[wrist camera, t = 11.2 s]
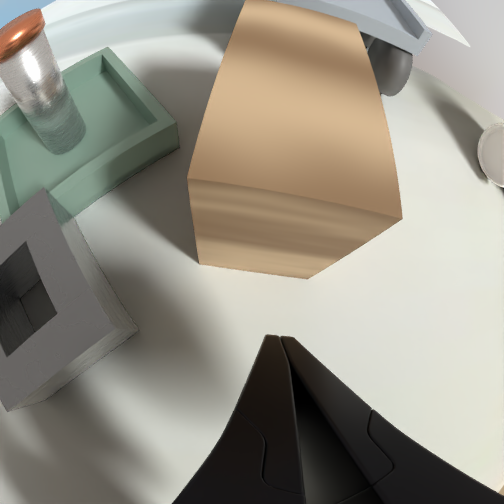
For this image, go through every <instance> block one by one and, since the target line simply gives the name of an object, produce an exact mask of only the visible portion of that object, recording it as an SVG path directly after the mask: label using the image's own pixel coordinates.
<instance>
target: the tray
mask: <svg viewBox="0 0 504 504" xmlns="http://www.w3.org/2000/svg"><path fill="white" fill-rule="evenodd" d="M61 74H62V76H63V78H64V80H65V83H66V85H67V87H68V89H69V91H70V93H71V96H72V98H73V100H74V102H75V104H76V106H77V108H78V110H79V112H80V114H81V116H82V118H83V120H84V122H85V124H86V133H85V135H84V137H83V139H82V140H81V142H80V143H79V144H78V145H77V146H76V147H75V148H73V149H72V150H71V151H69V152H67V153H64V154H61V155H55V154H52V153H51V152H50V151H49V149H48V148H47V147H46V145H45V144H44V143H43V141H42V140H41V138H40V137H39V136H38V134H37V133H36V131H35V130H34V128H33V127H32V126H31V124H30V123H29V121H28V120H27V118H26V117H25V115H24V114H23V112H22V111H21V109H20V108H19V106H18V105H17V103H16V104H14V105H13V106H12V107H10V108H9V109H8V110H7V111H6V112H4V113H3V114H2V115H1V116H0V218H1V222H2V224H3V223H4V222H5V221H6V220H7V219H8V218H9V217H10V216H11V215H12V214H13V213H14V212H15V211H16V210H17V209H19V208H20V207H21V206H22V205H23V204H24V203H25V202H26V201H28V200H29V199H30V198H31V197H32V196H33V195H35V194H36V193H37V192H38V191H39V190H41V189H42V188H43V187H45V188H46V189H47V190H48V191H49V193H50V194H51V195H52V196H53V197H54V198H55V199H56V200H57V201H58V202H59V203H60V204H61V205H62V206H63V207H64V208H65V209H66V210H67V211H68V212H69V213H70V214H71V215H72V216H73V217H75V216H76V215H77V214H78V213H80V212H81V211H82V210H84V209H85V208H86V207H88V206H89V205H91V204H92V203H93V202H95V201H96V200H97V199H99V198H100V197H102V196H103V195H104V194H106V193H107V192H109V191H110V190H112V189H113V188H115V187H116V186H118V185H119V184H121V183H122V182H124V181H125V180H127V179H128V178H130V177H131V176H133V175H134V174H136V173H137V172H139V171H141V170H142V169H144V168H145V167H147V166H149V165H150V164H152V163H153V162H155V161H157V160H158V159H160V158H162V157H163V156H165V155H167V154H169V153H170V152H172V151H174V150H176V149H177V148H179V139H178V130H177V122H176V121H175V120H174V119H173V117H172V116H171V115H170V114H169V113H168V112H167V111H166V110H165V108H164V107H163V106H162V105H161V104H160V103H159V102H158V101H157V99H156V98H155V97H154V96H153V95H152V94H151V93H150V92H149V91H148V89H147V88H146V87H145V86H144V85H143V84H142V83H141V82H140V81H139V80H138V78H137V77H136V76H135V75H134V74H133V73H132V72H131V71H130V70H129V69H128V68H127V67H126V65H125V64H124V63H123V62H122V61H121V60H120V59H119V58H118V57H117V56H116V55H115V54H114V53H113V52H112V50H111V49H110V48H109V47H106V48H104V49H102V50H100V51H98V52H96V53H94V54H92V55H90V56H88V57H87V58H85V59H83V60H81V61H79V62H77V63H76V64H74V65H72V66H70V67H69V68H67V69H65V70H64V71H62V72H61Z"/></svg>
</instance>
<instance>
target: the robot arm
mask: <svg viewBox="0 0 504 504" xmlns="http://www.w3.org/2000/svg"><path fill="white" fill-rule="evenodd" d="M172 504H504V496H503V495H501V494H499V493H497V492H496V491H494V490H492V489H490V488H489V487H487V486H485V485H483V484H482V483H480V482H478V481H476V480H475V479H473V478H471V477H470V476H468V475H466V474H465V473H463V472H462V471H460V470H458V469H457V468H455V467H453V466H452V465H450V464H449V463H447V462H446V461H444V460H442V459H441V458H439V457H438V456H436V455H435V454H433V453H432V452H430V451H429V450H427V449H426V448H424V447H423V446H421V445H420V444H418V443H417V442H415V441H414V440H412V439H411V438H409V437H408V436H407V435H405V434H404V433H402V432H401V431H400V430H398V429H397V428H396V427H394V426H393V425H392V424H391V423H390V422H388V421H387V420H386V419H385V418H383V417H382V416H381V415H380V414H379V413H378V412H376V411H375V410H374V409H373V410H372V408H371V407H370V406H369V405H368V404H367V403H365V402H364V401H363V400H362V399H361V398H360V397H359V396H357V395H356V394H355V393H354V392H353V391H352V390H351V389H350V388H349V387H347V386H346V385H345V384H344V383H343V382H342V381H341V380H340V379H338V378H337V377H336V376H335V375H334V374H333V373H332V372H331V371H330V370H329V369H327V368H326V367H325V366H324V365H323V364H322V363H321V362H320V361H319V360H318V359H317V358H315V357H314V356H313V355H312V354H311V353H310V352H309V351H308V350H307V349H306V348H305V347H304V346H302V345H301V344H300V343H299V342H298V341H297V340H296V339H295V338H294V337H289V336H280V337H279V336H277V335H265V337H264V339H263V342H262V344H261V347H260V349H259V352H258V354H257V357H256V359H255V362H254V364H253V366H252V369H251V371H250V374H249V376H248V378H247V381H246V383H245V385H244V388H243V390H242V392H241V395H240V397H239V399H238V402H237V404H236V406H235V409H234V411H233V413H232V415H231V417H230V419H229V422H228V424H227V426H226V428H225V430H224V432H223V433H222V435H221V437H220V439H219V440H218V442H217V444H216V445H215V447H214V448H213V450H212V451H211V453H210V454H209V456H208V457H207V458H206V460H205V461H204V462H203V464H202V465H201V467H200V468H199V469H198V471H197V472H196V473H195V475H194V476H193V477H192V479H191V480H190V481H189V482H188V484H187V485H186V486H185V488H184V489H183V490H182V491H181V493H180V494H179V495H178V497H177V498H176V499H175V500H174V502H173V503H172Z"/></svg>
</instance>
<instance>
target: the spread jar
mask: <svg viewBox="0 0 504 504" xmlns="http://www.w3.org/2000/svg"><path fill="white" fill-rule="evenodd" d="M478 159H479V163H480V166H481V168H482V170H483V172H484V173H485V175H486V176H487V177H488V178H489V179H490V180H491V181H492V182H494V183H495V184H496V185H498V186H500V187H503V188H504V123H497V124H494V125H491V126H490V127H488V128H487V129H486V130H485V131H484V132H483V134H482V135H481V137H480V140H479V143H478Z"/></svg>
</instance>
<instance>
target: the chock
mask: <svg viewBox="0 0 504 504" xmlns="http://www.w3.org/2000/svg"><path fill="white" fill-rule="evenodd" d="M187 183H188V191H189V199H190V206H191V213H192V220H193V227H194V233H195V240H196V246H197V253H198V259H199V264H202V265H209V266H215V267H222V268H229V269H236V270H243V271H250V272H257V273H264V274H272V275H279V276H287V277H294V278H302V279H309V278H311V277H312V276H314V275H316V274H317V273H319V272H321V271H322V270H324V269H325V268H327V267H329V266H330V265H332V264H334V263H335V262H337V261H338V260H340V259H342V258H343V257H345V256H346V255H348V254H350V253H351V252H353V251H354V250H356V249H357V248H359V247H361V246H362V245H364V244H365V243H367V242H368V241H370V240H371V239H373V238H374V237H376V236H377V235H379V234H381V233H382V232H384V231H385V230H387V229H388V228H390V227H391V226H393V225H394V224H396V223H397V222H399V221H400V220H402V219H403V218H402V209H401V200H400V192H399V185H398V178H397V171H396V165H395V159H394V154H393V148H392V143H391V138H390V134H389V129H388V125H387V120H386V116H385V112H384V108H383V104H382V100H381V96H380V93H379V89H378V86H377V82H376V79H375V75H374V72H373V69H372V66H371V63H370V60H369V57H368V54H367V51H366V48H365V45H364V43H363V40H362V37H361V35H360V32H359V29H358V27H357V24H356V23H353V22H350V21H347V20H344V19H341V18H338V17H335V16H331V15H328V14H325V13H321V12H318V11H314V10H310V9H306V8H302V7H298V6H293V5H289V4H284V3H279V2H274V1H268V0H245V3H244V5H243V8H242V10H241V12H240V15H239V17H238V20H237V22H236V25H235V27H234V30H233V32H232V35H231V38H230V40H229V43H228V46H227V48H226V51H225V54H224V56H223V59H222V62H221V65H220V68H219V71H218V74H217V76H216V79H215V82H214V85H213V88H212V92H211V95H210V98H209V101H208V104H207V107H206V111H205V114H204V117H203V121H202V124H201V127H200V131H199V134H198V138H197V141H196V145H195V149H194V152H193V156H192V160H191V163H190V167H189V171H188V175H187Z"/></svg>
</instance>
